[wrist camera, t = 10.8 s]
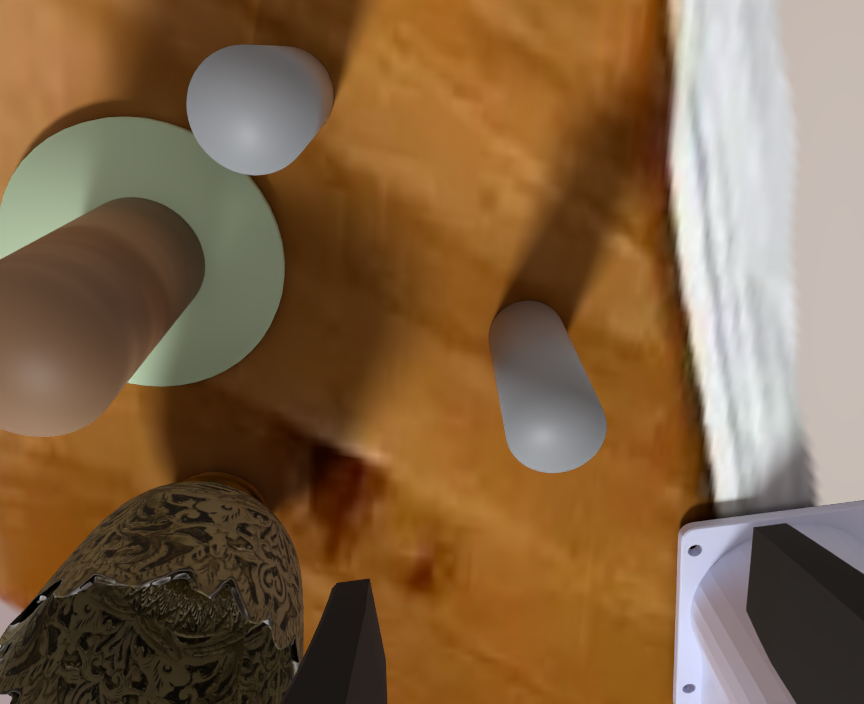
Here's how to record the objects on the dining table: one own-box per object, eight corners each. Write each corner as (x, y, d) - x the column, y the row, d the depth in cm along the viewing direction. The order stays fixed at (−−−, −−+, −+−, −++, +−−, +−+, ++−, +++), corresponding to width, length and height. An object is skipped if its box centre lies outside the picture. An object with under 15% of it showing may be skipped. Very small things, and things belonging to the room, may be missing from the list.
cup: (215, 622, 26) (147, 844, 19) (62, 494, 24) (-85, 694, 16) (371, 521, 25) (362, 719, 18) (226, 372, 22) (146, 532, 15)
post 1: (341, 133, 20) (323, 165, 14) (256, 145, 20) (204, 183, 14) (324, 39, 19) (298, 35, 13) (234, 52, 19) (171, 54, 13)
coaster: (307, 363, 22) (306, 368, 22) (58, 395, 22) (52, 401, 22) (252, 98, 19) (250, 99, 19) (-40, 136, 19) (-48, 137, 19)
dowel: (218, 309, 21) (141, 425, 15) (99, 325, 21) (-31, 446, 15) (187, 189, 20) (86, 258, 13) (59, 205, 20) (-105, 282, 13)
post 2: (572, 357, 22) (616, 457, 17) (501, 379, 23) (521, 484, 17) (553, 290, 22) (592, 372, 16) (479, 314, 22) (492, 402, 16)
